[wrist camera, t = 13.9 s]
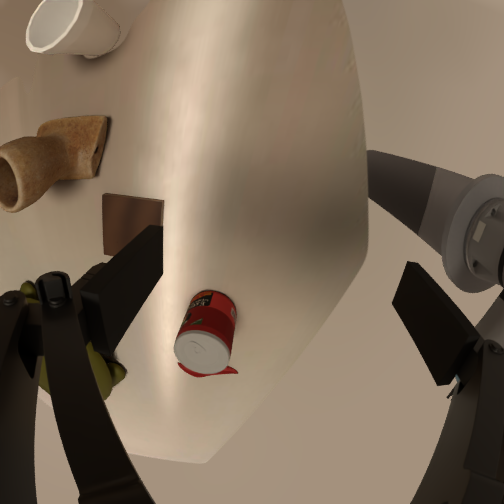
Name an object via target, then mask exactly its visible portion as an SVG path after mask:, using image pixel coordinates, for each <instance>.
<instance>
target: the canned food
mask: <svg viewBox="0 0 504 504" xmlns="http://www.w3.org/2000/svg"><path fill="white" fill-rule="evenodd" d="M235 322H236V310H235V307H234V305H233V303H232V302H231V300H230V299H229V298H228V297H226V296H225V295H223V294H221V293H219V292H216V291H205V292H201V293H199V294H198V295H196V296H195V297H194V298H193V299H192V301H191V303H190V305H189V307H188V310H187V312H186V315H185V317H184V320H183V322H182V325H181V327H180V330H179V332H178V335H177V337H176V340H175V344H174V353H175V355H176V357H177V359H178V360H179V361H180V362H181V364H183V365H184V366H185V367H187V368H188V369H190V370H192V371H195V372H198V373H203V374H214V373H218V372H220V371H222V370H224V369H225V368H226V367H227V365H228V363H229V360H230V356H231V350H232V343H233V336H234V329H235Z"/></svg>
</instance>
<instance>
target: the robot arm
mask: <svg viewBox="0 0 504 504" xmlns="http://www.w3.org/2000/svg"><path fill="white" fill-rule="evenodd" d="M463 256H464V261H465V264H466V266H467V268H468V270H469V271H470V272H471V273H472V274H474V275H475V276H476V277H477V278H480V279H482V280H485V281H488V282H491V283H495V284H498V285H501V286H502V287H503V288H504V199H502V198H492V199H489V200H487V201H486V202H484V203H483V204H482V205H481V206H480V207H479V208H478V209H477V210H476V212H475V213H474V215H473V216H472V218H471V220H470V222H469V225H468V227H467V230H466V233H465V237H464V243H463ZM162 275H163V226H158V225H150V224H149V225H148V226H147V227H146V228H145V229H144V230H143V231H141V232H140V233H139V234H138V235H137V236H136V237H135V238H134V239H132V240H131V241H130V242H129V243H128V244H127V245H126V246H125V247H124V248H123V249H121V250H120V251H119V252H118V253H117V254H116V255H115V256H114V257H113V258H112V259H111V260H110V261H109V262H108V263H103V262H102V263H99V264H97V265H95V266H93V267H92V268H91V269H89V270H88V271H87V272H86V274H84V275H83V276H82V277H81V279H79V280H78V281H77V282H76V283H75V284H73V285H72V286H71V283H70V278H69V276H68V274H66V273H64V272H60V271H54V272H49V273H45V274H43V275H42V276H40V277H39V278H38V279H37V280H36V282H35V286H36V290H37V294H38V298H39V302H40V303H27V300H26V296H25V294H24V293H23V292H21V291H17V290H14V291H8V292H6V293H4V294H3V295H2V296H0V504H37V497H36V486H35V467H34V436H35V417H36V404H37V395H38V386H39V378H40V372H41V365H42V359H43V356H44V358H45V365H46V372H47V379H48V384H49V390H50V395H51V400H52V405H53V409H54V414H55V418H56V422H57V426H58V430H59V433H60V437H61V440H62V444H63V447H64V450H65V454H66V457H67V460H68V463H69V465H70V468H71V471H72V474H73V476H74V479H75V482H76V484H77V487H78V490H79V494H80V496H79V498H78V502H79V504H156V503H155V502H154V500H153V499H152V497H151V495H150V494H149V492H148V491H147V489H146V487H145V486H144V484H143V482H142V480H141V478H140V477H139V475H138V473H137V471H136V469H135V468H134V466H133V464H132V462H131V460H130V458H129V456H128V454H127V452H126V450H125V448H124V446H123V444H122V442H121V439H120V437H119V435H118V433H117V431H116V428H115V426H114V424H113V422H112V419H111V417H110V414H109V412H108V410H107V407H106V405H105V402H104V399H103V397H102V394H101V391H100V389H99V386H98V383H97V380H96V377H95V374H94V371H93V368H92V365H91V362H90V359H89V355H88V352H87V349H86V346H87V345H88V343H89V342H90V340H91V342H92V346H93V350H94V351H95V352H98V353H101V354H105V355H108V356H111V355H112V354H113V352H114V350H115V349H116V347H117V345H118V344H119V342H120V340H121V339H122V337H123V336H124V334H125V332H126V331H127V329H128V327H129V326H130V324H131V323H132V321H133V319H134V318H135V316H136V315H137V313H138V312H139V310H140V308H141V307H142V305H143V304H144V302H145V301H146V299H147V298H148V296H149V294H150V293H151V291H152V290H153V288H154V287H155V285H156V284H157V282H158V281H159V279H160V278H161V276H162ZM392 305H393V306H394V308H395V310H396V312H397V313H398V315H399V316H400V318H401V320H402V321H403V323H404V325H405V327H406V329H407V330H408V332H409V334H410V336H411V337H412V339H413V341H414V342H415V344H416V346H417V348H418V350H419V352H420V354H421V355H422V357H423V359H424V361H425V363H426V365H427V367H428V369H429V371H430V372H431V374H432V376H433V378H434V380H435V382H436V384H437V386H441V385H449V384H450V383H451V382H452V380H453V379H454V377H456V380H457V384H456V385H455V387H454V388H453V389H452V391H451V392H450V393H449V395H448V396H447V398H449V397H450V396H452V395H453V396H452V399H451V404H450V407H449V411H448V414H447V417H446V420H445V424H444V427H443V429H442V432H441V435H440V438H439V441H438V444H437V446H436V449H435V452H434V454H433V456H432V459H431V461H430V464H429V466H428V468H427V471H426V473H425V475H424V477H423V479H422V482H421V484H420V486H419V488H418V490H417V492H416V494H415V496H414V498H413V500H412V501H411V503H410V504H504V289H503V290H502V292H501V293H500V295H499V296H498V297H497V299H496V300H495V302H494V303H493V304H492V306H491V307H490V308H489V310H488V311H487V312H486V314H485V315H484V317H483V318H482V319H481V320H480V321H479V323H478V324H477V325H476V326H475V327H474V326H473V325H472V324H471V322H470V321H469V320H468V319H467V317H466V316H465V315H464V314H463V313H462V311H461V310H460V309H459V308H458V307H457V305H456V304H455V303H454V302H453V301H452V300H451V298H450V297H449V296H448V295H447V294H446V293H445V292H444V291H443V290H442V288H441V287H440V286H439V285H438V284H437V283H436V282H435V281H434V279H432V277H431V276H430V275H429V274H428V273H427V272H426V271H425V270H424V269H423V268H422V267H421V266H420V265H419V263H415V262H409V261H407V264H406V266H405V269H404V272H403V275H402V278H401V280H400V283H399V286H398V288H397V291H396V294H395V296H394V299H393V301H392Z"/></svg>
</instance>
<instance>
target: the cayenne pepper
mask: <svg viewBox="0 0 504 504" xmlns="http://www.w3.org/2000/svg"><path fill="white" fill-rule="evenodd" d="M178 365H179V367H180V368H181V369H183V370H184V371H185V372H186V373H188V374H190V375H192V376H194V377H205V376H209V375H218V374H232V373H234V374H238V372H237V371H236V370H235V369H233V368H231V367H229V366H227V367H226V368H225V369H224V370H222V371H220V372H218V373H214V374H203V373H198V372H195V371H192V370H190V369H188V368H187V367H185V366H184V365H183V364H181V363H178Z"/></svg>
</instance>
